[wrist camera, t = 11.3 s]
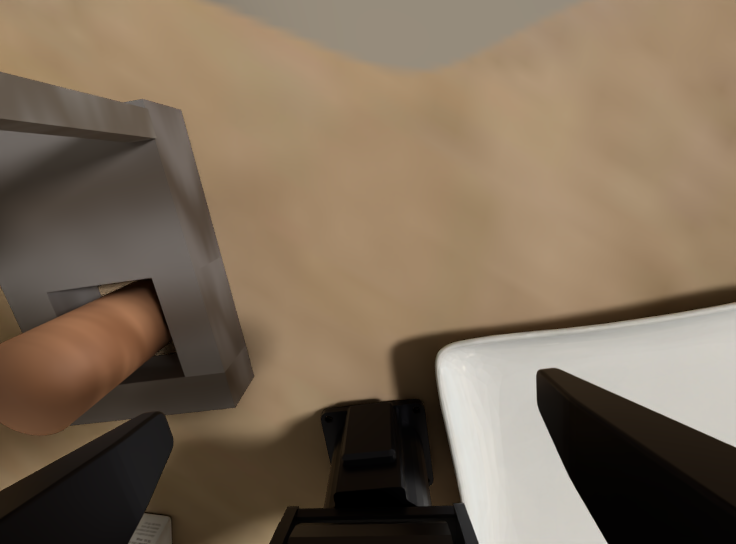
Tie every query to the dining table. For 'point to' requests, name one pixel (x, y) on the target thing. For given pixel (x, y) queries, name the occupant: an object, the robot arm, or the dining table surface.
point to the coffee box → (153, 530)
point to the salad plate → (528, 431)
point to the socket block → (116, 237)
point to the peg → (78, 358)
